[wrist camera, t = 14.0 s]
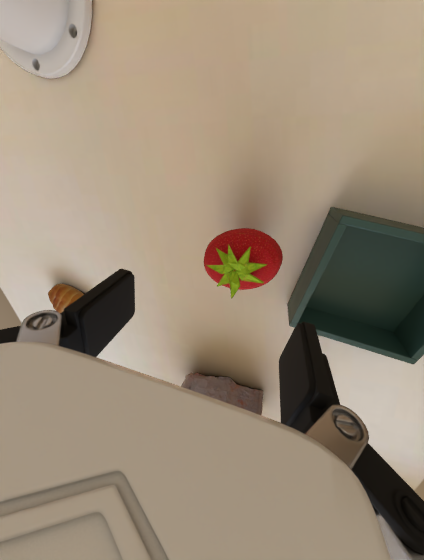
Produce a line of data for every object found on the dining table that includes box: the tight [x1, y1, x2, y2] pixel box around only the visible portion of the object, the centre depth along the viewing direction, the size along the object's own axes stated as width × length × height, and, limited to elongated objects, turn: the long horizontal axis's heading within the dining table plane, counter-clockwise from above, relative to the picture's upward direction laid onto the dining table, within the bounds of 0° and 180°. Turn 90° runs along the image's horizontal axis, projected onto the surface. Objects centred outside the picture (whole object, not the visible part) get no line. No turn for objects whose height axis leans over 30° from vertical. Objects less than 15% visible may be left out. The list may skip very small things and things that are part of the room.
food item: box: [181, 372, 263, 415], centre depth 34 cm, size 14×8×10 cm, turn 88°
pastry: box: [48, 284, 84, 313], centre depth 36 cm, size 9×7×4 cm
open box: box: [287, 207, 424, 364], centre depth 22 cm, size 12×13×4 cm
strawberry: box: [204, 228, 283, 299], centre depth 21 cm, size 6×8×10 cm
